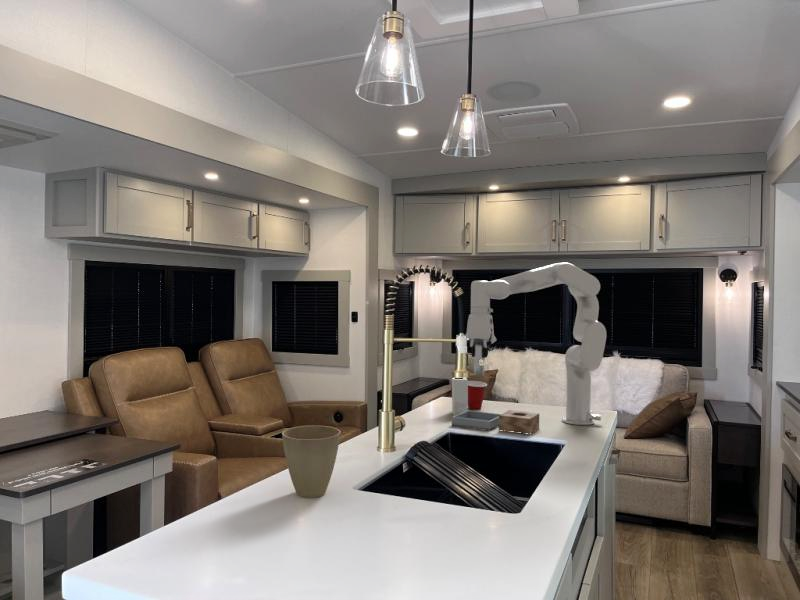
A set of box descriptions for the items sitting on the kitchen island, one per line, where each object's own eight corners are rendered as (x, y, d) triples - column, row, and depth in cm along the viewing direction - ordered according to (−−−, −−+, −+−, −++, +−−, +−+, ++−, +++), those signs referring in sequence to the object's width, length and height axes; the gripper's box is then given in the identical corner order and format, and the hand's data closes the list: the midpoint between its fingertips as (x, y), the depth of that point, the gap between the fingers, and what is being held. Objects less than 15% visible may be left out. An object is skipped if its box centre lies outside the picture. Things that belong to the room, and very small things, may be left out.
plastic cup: (476, 411, 261) (476, 385, 261) (458, 408, 269) (458, 382, 269) (491, 409, 268) (492, 382, 268) (474, 405, 276) (474, 380, 276)
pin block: (539, 428, 229) (539, 413, 229) (529, 434, 219) (529, 418, 219) (509, 425, 235) (509, 410, 235) (499, 430, 225) (499, 415, 225)
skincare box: (468, 416, 252) (468, 379, 251) (452, 415, 252) (453, 379, 252) (466, 412, 260) (466, 377, 260) (451, 411, 260) (451, 376, 260)
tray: (504, 423, 238) (504, 414, 238) (489, 430, 224) (489, 421, 224) (467, 418, 246) (468, 410, 246) (451, 425, 232) (451, 416, 232)
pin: (487, 374, 236) (487, 338, 236) (482, 376, 232) (483, 339, 232) (475, 373, 238) (476, 337, 238) (471, 375, 234) (471, 338, 234)
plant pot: (276, 487, 156) (277, 427, 155) (331, 481, 161) (332, 423, 161) (286, 506, 142) (287, 440, 142) (346, 499, 147) (347, 436, 147)
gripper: (503, 311, 234) (502, 357, 234) (464, 310, 242) (464, 355, 242) (496, 312, 227) (495, 359, 228) (457, 311, 236) (456, 356, 236)
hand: (479, 356), depth 235 cm, fingers closed on pin, 4 cm apart
